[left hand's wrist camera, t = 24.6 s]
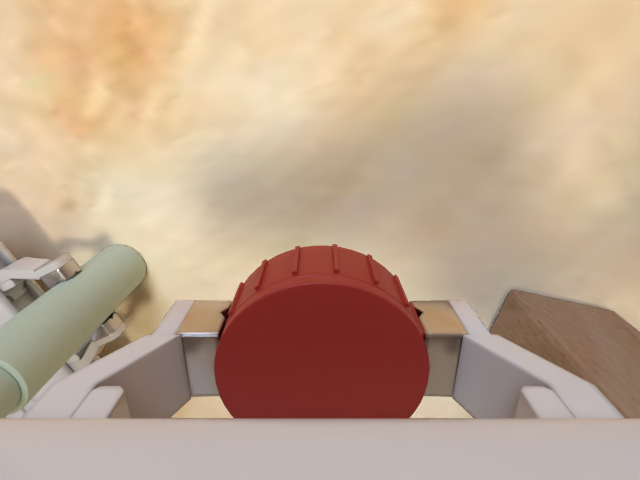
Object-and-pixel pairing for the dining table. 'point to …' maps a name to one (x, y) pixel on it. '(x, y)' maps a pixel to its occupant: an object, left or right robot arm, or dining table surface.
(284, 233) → the dining table surface
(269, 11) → the dining table surface
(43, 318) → the green cylinder
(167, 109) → the dining table surface
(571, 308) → the wooden block
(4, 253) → the right robot arm
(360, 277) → the lid
